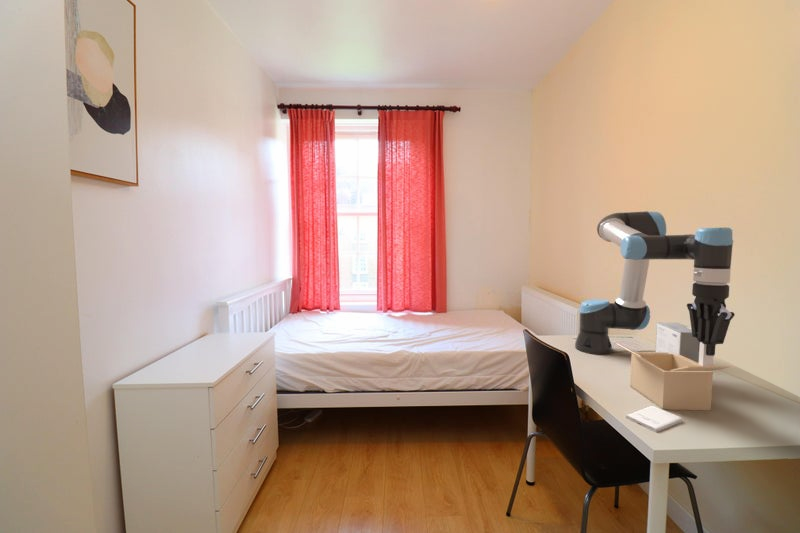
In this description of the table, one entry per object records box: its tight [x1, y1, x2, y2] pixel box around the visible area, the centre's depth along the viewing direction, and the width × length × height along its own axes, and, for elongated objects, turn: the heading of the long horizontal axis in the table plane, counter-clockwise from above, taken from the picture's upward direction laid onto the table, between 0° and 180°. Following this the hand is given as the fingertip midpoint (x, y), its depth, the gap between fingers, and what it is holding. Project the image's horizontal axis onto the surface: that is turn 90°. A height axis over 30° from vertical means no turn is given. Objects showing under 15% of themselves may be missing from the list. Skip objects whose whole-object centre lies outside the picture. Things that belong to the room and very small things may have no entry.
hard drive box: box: [655, 321, 699, 363], centre depth 123 cm, size 16×8×20 cm, turn 168°
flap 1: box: [615, 342, 659, 368], centre depth 110 cm, size 13×7×1 cm
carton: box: [629, 351, 714, 411], centre depth 110 cm, size 16×15×12 cm
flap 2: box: [671, 365, 731, 372], centre depth 97 cm, size 7×11×1 cm, turn 86°
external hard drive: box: [625, 405, 683, 433], centre depth 97 cm, size 2×8×12 cm
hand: (705, 365), depth 95 cm, fingers closed
